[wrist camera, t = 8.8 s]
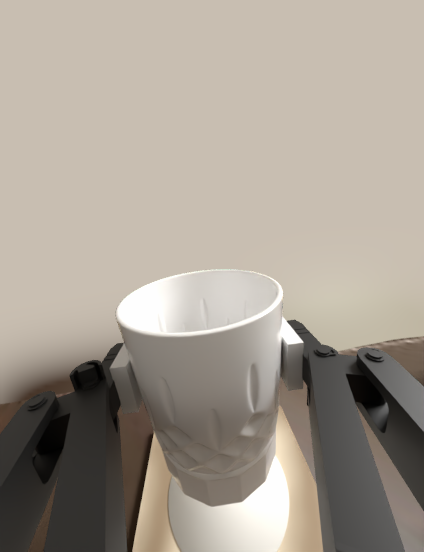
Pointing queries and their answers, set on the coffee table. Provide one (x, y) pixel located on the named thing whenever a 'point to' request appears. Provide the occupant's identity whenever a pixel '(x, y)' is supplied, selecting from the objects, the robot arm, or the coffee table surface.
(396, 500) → the coffee table surface
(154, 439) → the coaster board
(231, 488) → the white cup
